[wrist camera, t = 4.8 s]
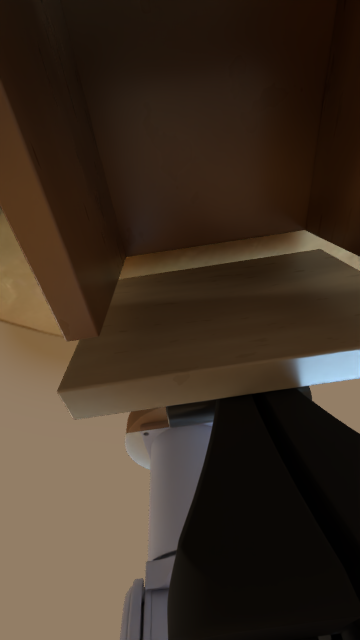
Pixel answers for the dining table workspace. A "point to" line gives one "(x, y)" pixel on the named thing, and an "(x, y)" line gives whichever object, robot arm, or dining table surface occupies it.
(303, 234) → the dining table surface
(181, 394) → the drawer
